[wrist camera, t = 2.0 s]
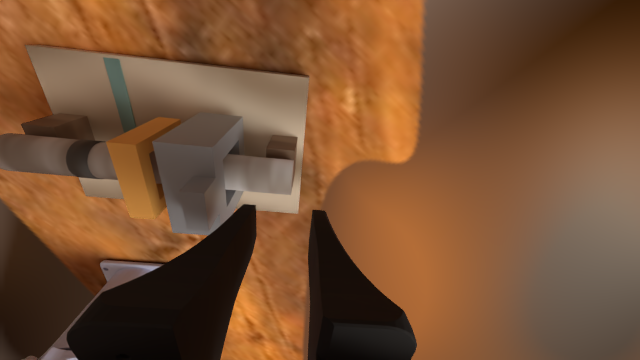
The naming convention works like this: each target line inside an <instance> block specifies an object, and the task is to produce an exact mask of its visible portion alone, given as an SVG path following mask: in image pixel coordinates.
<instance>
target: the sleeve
mask: <svg viewBox="0 0 640 360" xmlns="http://www.w3.org/2000/svg"><path fill="white" fill-rule="evenodd" d="M152 143H153V147H154V152H155V156H156V161H157V165H158V169H159V174H160V178H161V183H162V187H163V191H164V196H165V200H166V205H167V209H168V213H169V218H170V222H171V227H172V231H173V233H186V234H199V235H210V234H211V233H212V232H213V231H215V230H216V229H217V228H218V227H219V226H220V225H222V224H223V223H224V222H225V221H226V220H227V219H228V218H229V217H230V216H231V215H232V214H233V212H234V210H235V208H236V206H237V204H238V202H239V200H240V198H241V196H242V194H243V192H244V191H238V190H226V189H225V180H224V168H223V159H224V158H225V157H226V155H227V154H234V155H244V133H243V117H242V116H232V115H223V114H213V113H204V112H200V113H198V114H197V115H195V116H193V117H192V118H190V119H188V120H187V121H185V122H184V123H182V124H180V125H179V126H177V127H175V128H174V129H172V130H170V131H169V132H167V133H166V134H164V135H162V136H161V137H159V138H157V139H156V140H154V141H152Z"/></svg>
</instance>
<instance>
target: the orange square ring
mask: <svg viewBox="0 0 640 360" xmlns="http://www.w3.org/2000/svg"><path fill="white" fill-rule="evenodd" d="M180 124H181V120H180V119H174V118H164V117H157V118H155V119H153V120H151V121H149V122H147V123H145V124H143V125H140V126H138V127H136V128H134V129H132V130H130V131H128V132H126V133H124V134H122V135H120V136H117V137H115V138H113V139H111V140H109V141H107V142H106V144H107V147H108V150H109V153H110V157H111V160H112V163H113V166H114V169H115V172H116V175H117V178H118V181H119V185H120V188H121V191H122V194H123V197H124V200H125V203H126V206H127V209H128V212H129V216H130V218H142V219H156V218H157V217H158V216H159V215H160V213H161V212H162V211H163V210H164V209H165V208H166V207H167V205H166V200H165V196H164V191H163V187H162V184H157V183H156V181H155V177H154V173H153V168H152V164H151V160H150V156H149V153H151V152H152V151H154V147H153V143H152V141H154V140H156V139H157V138H159V137H161V136H162V135H164V134H166V133H167V132H169V131H170V130H172V129H174V128H175V127H177V126H179V125H180Z"/></svg>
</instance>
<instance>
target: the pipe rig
mask: <svg viewBox="0 0 640 360" xmlns="http://www.w3.org/2000/svg"><path fill="white" fill-rule="evenodd" d="M25 47H26V49H27V52H28V54H29V57H30V59H31V62H32V64H33V67H34V69H35V71H36V74H37V76H38V79H39V81H40V84H41V86H42V89H43V91H44V94H45V96H46V99H47V101H48V103H49V106H50V108H51V111H52V113H53V115H51V116H47V117H44V118H40V119H37V120H33V121H30V122H26V123H22V124H21V125H22V128H23V130H24V132H25V134H26V135H24V134H13V133H7V134H3V135H0V168H1V169H4V170H8V171H19V172H31V173H42V174H54V175H65V176H77V177H79V180H80V182H81V185H82V187H83V190H84V192H85V194H86V196H92V197H104V198H116V199H124V197H123V194H122V191H121V188H120V185H119V181H118V178H117V175H116V172H115V169H114V166H113V163H112V160H111V157H110V153H109V150H108V147H107V144H106V142H107V141H109V140H111V139H113V138H115V137H117V136H120V135H122V134H124V133H126V132H128V131H130V130H132V129H134V128H136V127H138V126H140V125H143V124H145V123H147V122H149V121H151V120H153V119H155V118H157V117H164V118H174V119H180V120H181V124H182V123H184V122H185V121H187V120H188V119H190V118H192V117H193V116H195V115H197V114H198V113H200V112H204V113H213V114H223V115H232V116H242V117H243V133H244V155H234V154H227V155H226V157H225V158H224V159H223V168H224V180H225V189H226V190H238V191H244V192H243V194H242V196H241V198H240V200H239V202H238V204H237V206H236V208H237V209H239V208H240V207H241V206H242V205H243V204H250V205H256V210H261V211H273V212H285V213H297V214H298V208H299V195H300V183H301V171H302V159H303V147H304V134H305V122H306V110H307V98H308V86H309V76H305V75H296V74H287V73H279V72H270V71H261V70H253V69H244V68H235V67H227V66H218V65H210V64H201V63H192V62H184V61H175V60H166V59H158V58H149V57H140V56H132V55H123V54H114V53H106V52H97V51H89V50H80V49H71V48H63V47H54V46H45V45H25ZM149 156H150V160H151V164H152V168H153V173H154V177H155V181H156V183H157V184H162V183H161V178H160V174H159V169H158V165H157V161H156V156H155V152H154V151H152V152H151V153H149Z"/></svg>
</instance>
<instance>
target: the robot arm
mask: <svg viewBox="0 0 640 360" xmlns="http://www.w3.org/2000/svg"><path fill="white" fill-rule="evenodd" d="M255 240H256V205H250V204H243V205H242V206H241V207H240V208H239V209H238V210H237V211H236V212H235V213H234V214H232V215H231V216H230V217H229V218H228V219H227V220H226V221H225V222H224V223H223V224H222V225H220V226H219V227H218V228H217V229H216V230H215V231H213V232H212V233H211V234H210V235H208V236H207V237H206V238H205V239H203V240H202V241H201V242H199V243H198V244H197V245H195V246H194V247H192V248H191V249H189V250H188V251H186V252H185V253H183V254H181V255H180V256H178V257H176V258H174V259H173V260H171V261H169V262H167V263H166V264H154V263H140V262H125V261H110V260H103V261H102V262H101V263H100V267H101V269H102V271H103V273H104V276H105V278H106V280H107V283H106V284H105V286H104V287H103V288H102V289H101V290H100V291H99V293H98V294H97V295H96V296H95V297H94V298H93V299H92V301H91V302H90V303H89V304H88V305H87V306H86V307H85V309H84V310H83V311H82V312H81V313H80V314H79V316H78V317H77V318H76V319H75V320H74V321H73V322H72V324H71V325H70V326H69V327H68V328H67V329H66V330H65V332H64V333H63V334H62V335H61V336H60V337H59V339H58V340H57V341H56V342H55V343H54V344H53V345H52V347H51V348H49V350H47V351H46V353H45V354H43V356H42V357H40V358H39V359H38V360H220V358H221V354H222V350H223V345H224V341H225V337H226V333H227V329H228V325H229V322H230V318H231V314H232V310H233V306H234V303H235V300H236V297H237V293H238V291H239V288H240V285H241V283H242V280H243V277H244V275H245V272H246V269H247V267H248V264H249V261H250V259H251V256H252V253H253V249H254V244H255ZM308 266H309V287H310V322H309V343H308V360H411V357H412V356H413V354H414V352H415V350H416V347H417V344H416V339H415V336H414V333H413V330H412V328H411V325H410V323H409V321H408V319H407V316H406V314H405V312H404V311H403V310H402V309H401V308H400V307H398V306H397V305H396V304H395V303H393V302H392V301H391V300H390V299H388V298H387V297H386V296H385V295H384V294H383V293H382V292H380V291H379V290H378V289H377V288H376V287H375V286H374V285H373V284H372V283H371V282H370V281H369V280H368V279H367V278H366V276H364V274H362V272H361V271H360V270H359V268H358V267H357V266H356V265H355V264H354V262H353V261H352V260H351V259H350V257H349V255H348V254H347V253H346V251H345V249H344V248H343V246H342V245H341V243H340V241H339V240H338V238H337V236H336V234H335V232H334V230H333V228H332V226H331V224H330V222H329V219H328V217H327V214H326V212H325V211H321V210H313V211H312V220H311V229H310V237H309V251H308ZM23 360H37V358H36V357H33V356H29V357H27V358H26V359H23Z"/></svg>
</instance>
